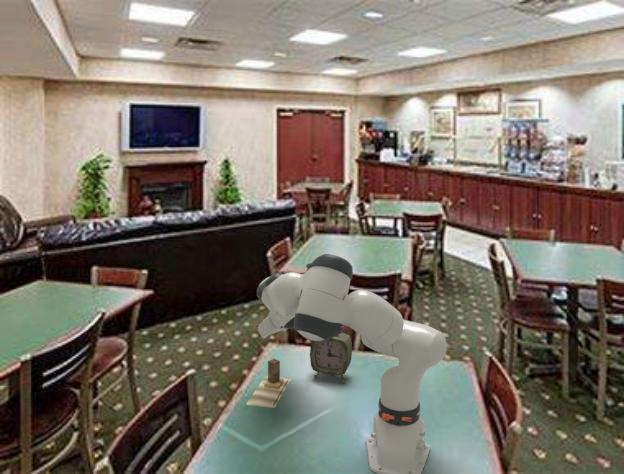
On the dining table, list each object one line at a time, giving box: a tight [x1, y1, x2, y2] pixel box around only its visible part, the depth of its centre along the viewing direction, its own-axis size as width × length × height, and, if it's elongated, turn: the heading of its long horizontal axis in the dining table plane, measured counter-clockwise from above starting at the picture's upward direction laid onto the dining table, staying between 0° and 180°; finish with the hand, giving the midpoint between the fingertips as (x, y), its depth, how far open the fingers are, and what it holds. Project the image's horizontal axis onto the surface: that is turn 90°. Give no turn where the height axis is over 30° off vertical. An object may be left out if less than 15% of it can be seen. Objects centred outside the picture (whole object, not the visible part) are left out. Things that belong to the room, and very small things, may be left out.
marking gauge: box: [264, 358, 284, 388], centre depth 190 cm, size 6×6×9 cm
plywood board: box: [245, 375, 292, 409], centre depth 185 cm, size 22×10×2 cm, turn 168°
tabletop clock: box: [309, 332, 353, 384], centre depth 197 cm, size 14×9×25 cm, turn 73°
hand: (273, 332), depth 187 cm, fingers open, 8 cm apart
